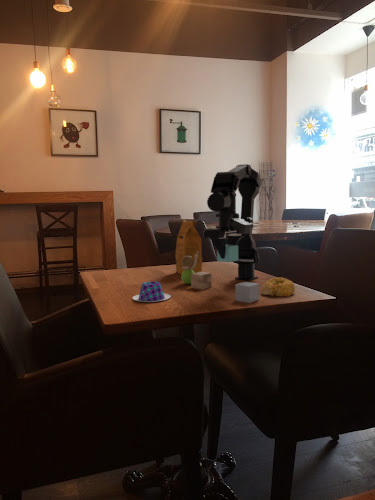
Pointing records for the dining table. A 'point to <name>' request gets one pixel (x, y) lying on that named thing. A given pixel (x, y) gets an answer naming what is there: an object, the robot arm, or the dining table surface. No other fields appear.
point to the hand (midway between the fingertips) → (227, 257)
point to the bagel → (278, 287)
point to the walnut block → (201, 280)
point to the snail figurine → (188, 268)
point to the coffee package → (188, 246)
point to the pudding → (151, 292)
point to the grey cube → (247, 292)
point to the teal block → (229, 254)
